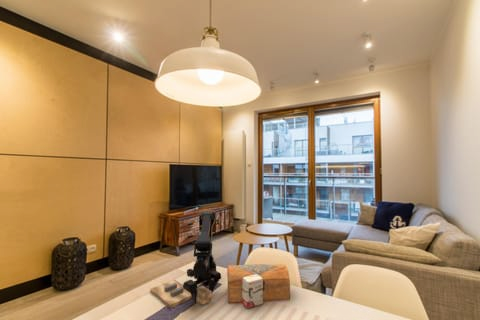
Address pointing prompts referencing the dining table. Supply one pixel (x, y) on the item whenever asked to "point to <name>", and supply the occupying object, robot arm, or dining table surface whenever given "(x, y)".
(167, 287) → the graphite stick
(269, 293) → the wooden box
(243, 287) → the ink box
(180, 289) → the graphite stick
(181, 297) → the oak board
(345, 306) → the dining table surface
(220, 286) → the dining table surface
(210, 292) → the tan rectangular block
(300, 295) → the dining table surface
